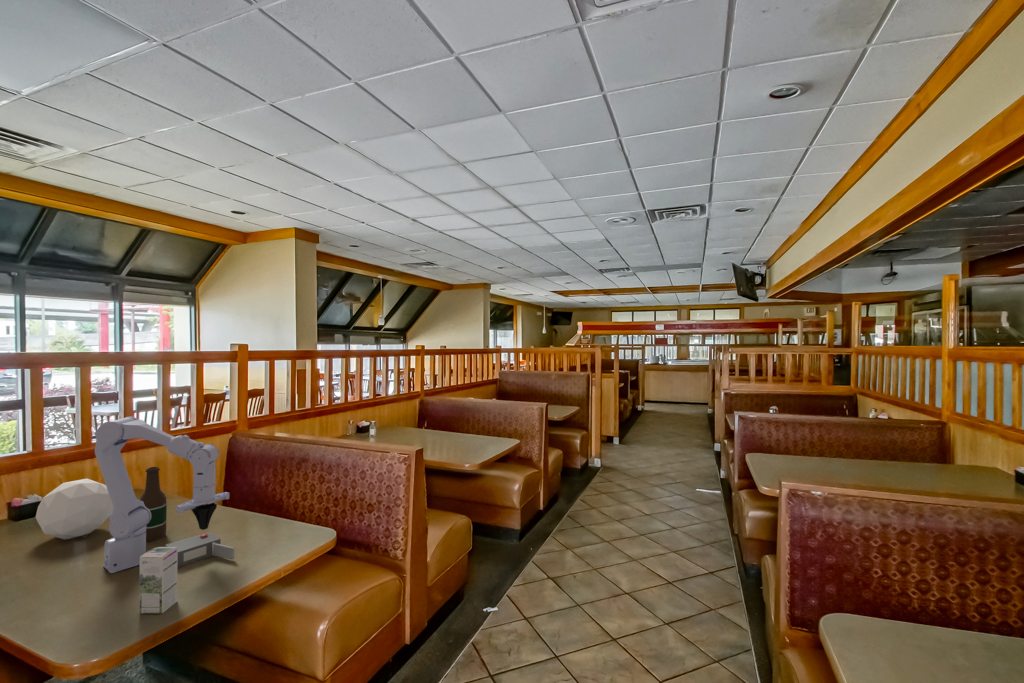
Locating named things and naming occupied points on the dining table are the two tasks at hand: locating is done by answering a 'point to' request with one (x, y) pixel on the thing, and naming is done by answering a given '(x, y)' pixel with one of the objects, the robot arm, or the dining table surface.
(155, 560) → the syrup box
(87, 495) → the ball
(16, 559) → the dining table surface
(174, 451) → the robot arm
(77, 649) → the dining table surface
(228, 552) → the side door
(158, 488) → the beer bottle
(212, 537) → the camera body
